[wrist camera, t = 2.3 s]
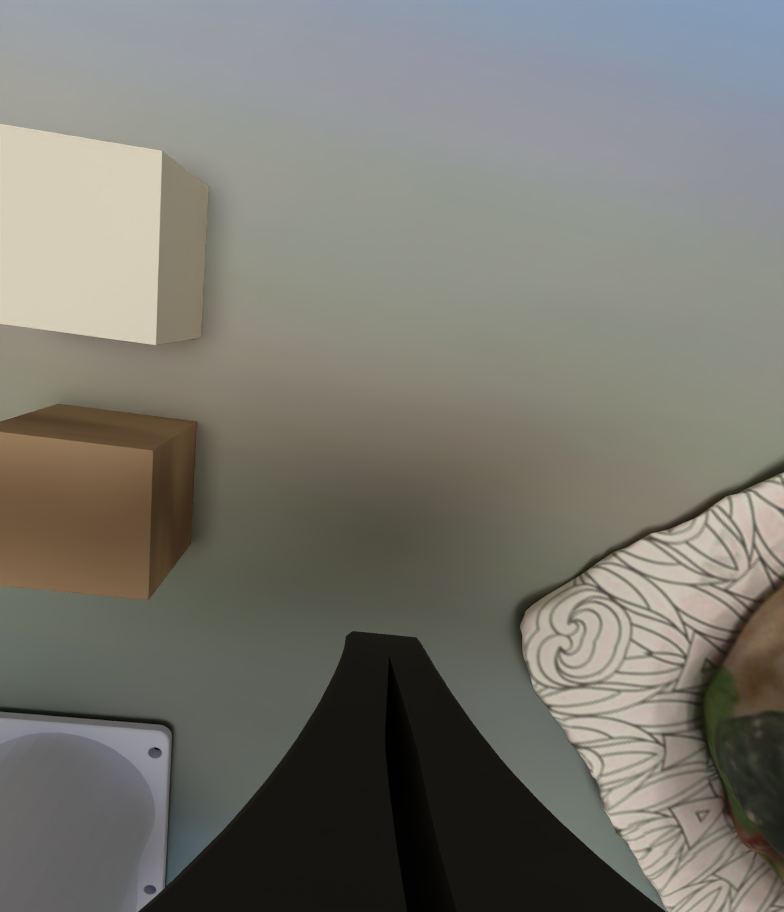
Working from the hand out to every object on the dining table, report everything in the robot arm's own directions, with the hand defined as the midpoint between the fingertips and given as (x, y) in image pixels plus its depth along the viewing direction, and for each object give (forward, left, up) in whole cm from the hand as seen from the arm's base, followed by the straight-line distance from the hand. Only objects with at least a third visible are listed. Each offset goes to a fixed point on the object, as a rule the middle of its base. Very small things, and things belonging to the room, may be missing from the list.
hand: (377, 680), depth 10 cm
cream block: (+7, +9, -10) cm, 15 cm away
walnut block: (0, +9, -10) cm, 13 cm away
